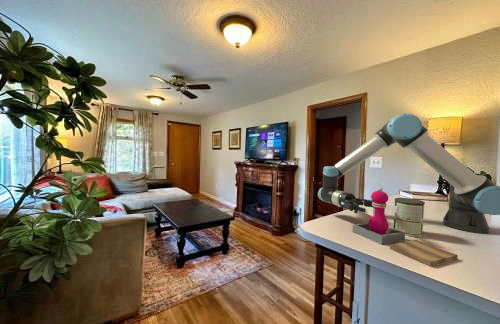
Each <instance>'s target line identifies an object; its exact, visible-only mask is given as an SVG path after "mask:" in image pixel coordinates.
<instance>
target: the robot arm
mask: <svg viewBox="0 0 500 324" xmlns="http://www.w3.org/2000/svg"><path fill="white" fill-rule="evenodd" d="M428 134H429V130H428V129H427V128H426V127H425V126H424V125H422V121H421V119H420V118H419V117H418V116H416V115H415V114H413V113H401V114H397V115H395V116H393V117H391V119H390V120H388V121H387V122H386V123H385V124H384V125H383V126H382V127H381V128H380V129H379V130H378V131H376V132H375V133H374V134H373V137H371V138H370V139H368V140H367V141H366V142H364V143H363V144H361V145H360V146H359V147H357V148H356V149H355V150H353V151H352V152H350V153H348V155H346V156H345V157H343V158H342V159H341V160H339V161H338V162H337V163H335V164H334V165H333V166H332V165H331V166H329V165H328V166H324V167H323V169H322V170H323V171H322V187H321V188H319V190H318V192H317V196H318V199H319V200H321V201H322V202H324V203H328V204H331V205H333V206H334V205H335V206H337V207H338V208H343V209H347V210H349V211H350V212H353V211H354V213H355V214H358V213H362V214H365V215H368V216H370V217H371V216H374V214H375V209H373V206H372V202H373V201H372V199H365V198H359V197H358V198H357V197H355V195H354V193H351V192H347V191H343V190H338V188H339V187H338V186H339V179H340V178H341V177H343V176H344V175H346V174H348V172H350V171H352V170H353V169H354V168H356V167H358V166H359V165H360V164H362V163H363V162H364V161H366V160H368V159H370V157H372V156H373V155H375V154H376V153H378V152H380V151H381V150H382V149H384V148H389V147H390V146H391V145H393V144H396V143H397V144H398V145H399V146H400V147H402V148H403V149H409V150H410V151H412V152H413V153H414V154H415V155H417V156H418V157H419V158H420V159H421V160H422V161H423V162H424V163H426V164H427V166H429V167H430V168H432V170H434V171H435V172H436V173H437V174H438V175H440V176H441V177H442V178H443V179H444V180H446V181H447V182H448V183H449V199H448V208H447V209H448V210H447V211H446V213H445V215H444V217H443V219H442V224H443V225H444V226H446V227H449V228H453V229H455V230H459V231H463V232H469V233H478V234H486V233H487V234H488V233H490V226H489V223H488V221H487V218H486V215H490V216H500V185H497V184H496V183H494V182H493V181H492V180H491V179H489V178H488V177H487V176H485V175H480V174H479V175H477V174H476V173H475V172H474V171H472V169H470V168H469V167H467V166H466V165H465V164H463V162H461V161H460V160H459V159H458V158H456V156H454V155H453V154H452V153H451V152H449V151H448V150H446V149H445V148H444V147H443V146H442V145H441V144H440V143H438V142H437V141H436V140H434V139H433V137H431V136H430V135H428ZM385 204H387V205H386V208H385V211H387V212H391V213H393V214H394V213H397V214H398V212H399V207H397V206H395V205H394V204H390V203H387V202H386V203H385Z"/></svg>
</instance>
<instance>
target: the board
mask: <svg viewBox="0 0 500 324" xmlns="http://www.w3.org/2000/svg"><path fill="white" fill-rule="evenodd" d="M389 245H390V246H389V247H390V248H389V249H390V250H392V251H394V252H396V253H398V254H401V255H403V256H405V257H407V258H409V259H412V260H414V261H416V262H419V263H422V264H423V265H425V266H428V267H430V268H432V267H436V266H438V265H442V264H445V263H450V262H452V261H453V262H454V261H456V260H458V257H459V255H458V254H456V253H453V252H450V251H448V250H445V249H443V248H439V247H437V246H434V245H431V244H428V243H426V242H423V241H421V240H417V239H414V240H408V241H401V242H398V243H397V242H396V243H391V244H389Z"/></svg>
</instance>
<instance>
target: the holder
mask: <svg viewBox="0 0 500 324" xmlns="http://www.w3.org/2000/svg"><path fill="white" fill-rule="evenodd" d="M369 230H370V228H369V226H368V222H364V223H357V224H356V223H355V224H352V230H351V231H352V233H355V234H357V235H359V236H361V237H364V238H366V239H368V240H370V241H373V242H375V243H377V244H379V245H385V244H386V245H388V244H394V243H397V242H398V243H399V242H405V240H406V235H405V232H402V231H399V230H396V229H393V227H390V226H389V229H388V230H387V231H386V233H387V234H386V235H380V234H377V233H374V232H372V231H369Z"/></svg>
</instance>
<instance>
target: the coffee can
mask: <svg viewBox="0 0 500 324" xmlns="http://www.w3.org/2000/svg"><path fill="white" fill-rule="evenodd" d="M425 204H426V202H425V201H424V200H420V199H415V198H410V197H409V198H407V197H395V198H394V206H397V207H399V212H398V214H397V213H393V227H392V228H393V229H396V230H399V231H402V232H405V236H407V237H414V238H421V237H423V236H424V235H423V232H424V231H423V230H424V217H425V215H424V214H425Z"/></svg>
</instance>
